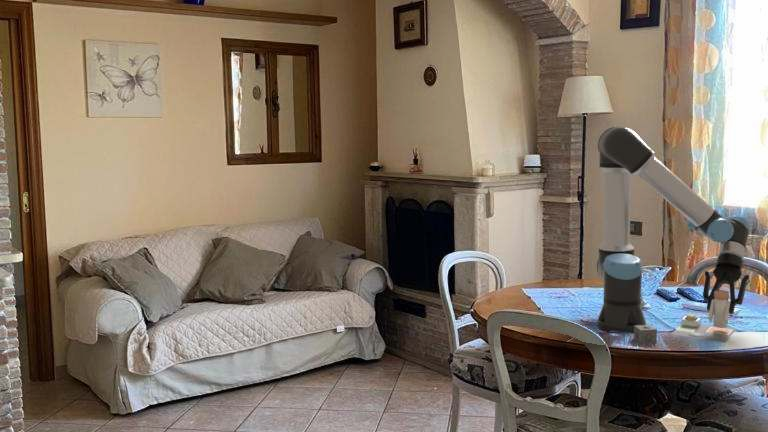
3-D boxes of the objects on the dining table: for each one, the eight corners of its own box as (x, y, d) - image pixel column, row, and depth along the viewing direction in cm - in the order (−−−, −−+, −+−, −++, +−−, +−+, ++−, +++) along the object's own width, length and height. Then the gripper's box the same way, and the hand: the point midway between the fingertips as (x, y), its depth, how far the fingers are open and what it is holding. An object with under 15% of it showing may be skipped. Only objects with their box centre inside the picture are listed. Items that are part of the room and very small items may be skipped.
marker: (711, 326, 238) (712, 292, 236) (714, 323, 241) (715, 289, 240) (726, 328, 235) (727, 294, 234) (728, 325, 239) (730, 291, 237)
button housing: (681, 326, 245) (681, 319, 244) (684, 322, 248) (685, 316, 248) (696, 328, 242) (697, 321, 242) (700, 324, 246) (700, 318, 245)
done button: (685, 322, 245) (685, 316, 244) (687, 320, 247) (687, 314, 247) (694, 323, 243) (694, 317, 243) (696, 321, 245) (696, 315, 245)
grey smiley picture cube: (640, 346, 228) (640, 330, 227) (633, 341, 233) (634, 325, 232) (656, 345, 228) (656, 329, 228) (649, 340, 233) (649, 324, 232)
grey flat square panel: (670, 336, 236) (670, 334, 236) (683, 323, 250) (683, 321, 250) (725, 345, 227) (725, 342, 227) (736, 330, 241) (736, 328, 241)
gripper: (760, 267, 244) (749, 330, 232) (704, 262, 253) (690, 322, 242) (758, 254, 239) (746, 317, 227) (701, 249, 248) (687, 310, 237)
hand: (717, 320), depth 235 cm, fingers closed on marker, 4 cm apart
